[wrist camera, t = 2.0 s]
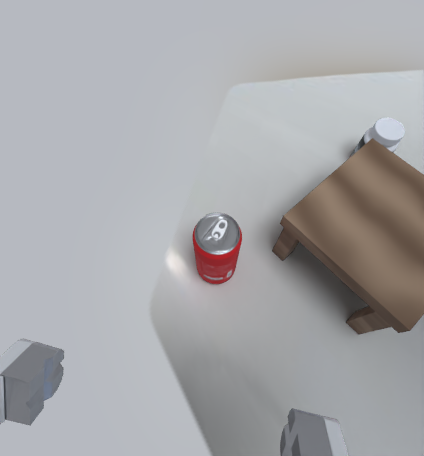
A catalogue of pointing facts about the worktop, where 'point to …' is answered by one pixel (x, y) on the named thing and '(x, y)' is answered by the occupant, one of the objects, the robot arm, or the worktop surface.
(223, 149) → the worktop surface
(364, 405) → the worktop surface
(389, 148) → the pill bottle
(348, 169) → the walnut stool
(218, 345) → the worktop surface
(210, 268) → the beverage can
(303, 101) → the worktop surface
